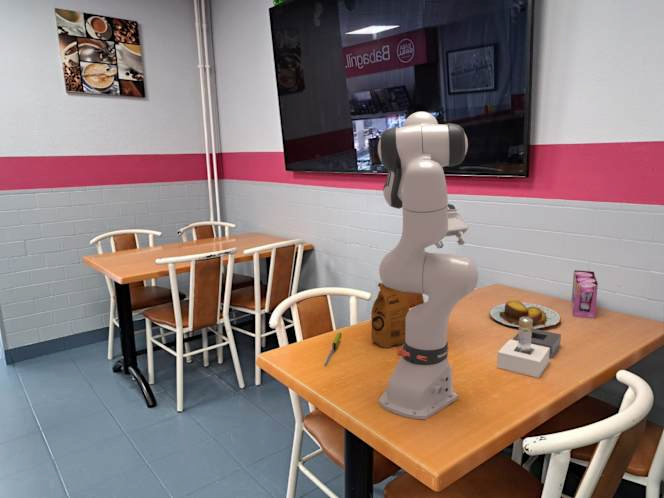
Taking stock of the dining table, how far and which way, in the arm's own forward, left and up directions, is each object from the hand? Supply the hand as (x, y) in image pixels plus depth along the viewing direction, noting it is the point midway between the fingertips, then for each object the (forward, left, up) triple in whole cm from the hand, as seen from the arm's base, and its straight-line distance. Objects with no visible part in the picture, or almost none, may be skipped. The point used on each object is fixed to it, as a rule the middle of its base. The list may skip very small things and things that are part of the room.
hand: (451, 245), depth 154 cm
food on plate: (+38, -15, -35) cm, 54 cm away
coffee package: (-10, +18, -35) cm, 40 cm away
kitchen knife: (-30, +28, -35) cm, 53 cm away
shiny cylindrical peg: (-3, -25, -34) cm, 43 cm away
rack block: (-3, -25, -34) cm, 43 cm away
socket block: (+13, -25, -34) cm, 45 cm away
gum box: (+64, -31, -35) cm, 79 cm away
